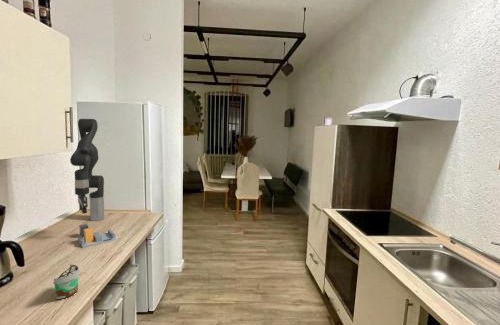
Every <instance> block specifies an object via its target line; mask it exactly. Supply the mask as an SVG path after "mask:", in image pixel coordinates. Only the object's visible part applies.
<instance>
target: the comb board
mask: <svg viewBox="0 0 500 325" xmlns="http://www.w3.org/2000/svg"><path fill="white" fill-rule="evenodd" d="M116 240H117V238H116V233H115V232H114V231H113V230H112V229H111V228H110V229H107V232H104V233H99V232H98V231H95V232H93V241H91V242H87V243H86V242H85V240H84V237H83V238H82V236H81V235H80V234H79V235H78V236H77V242H78V243H79V245H80V246H81V247H82V249H84V248H89V247H93V246H97V245H101V244H105V243H110V242H114V241H116Z"/></svg>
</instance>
